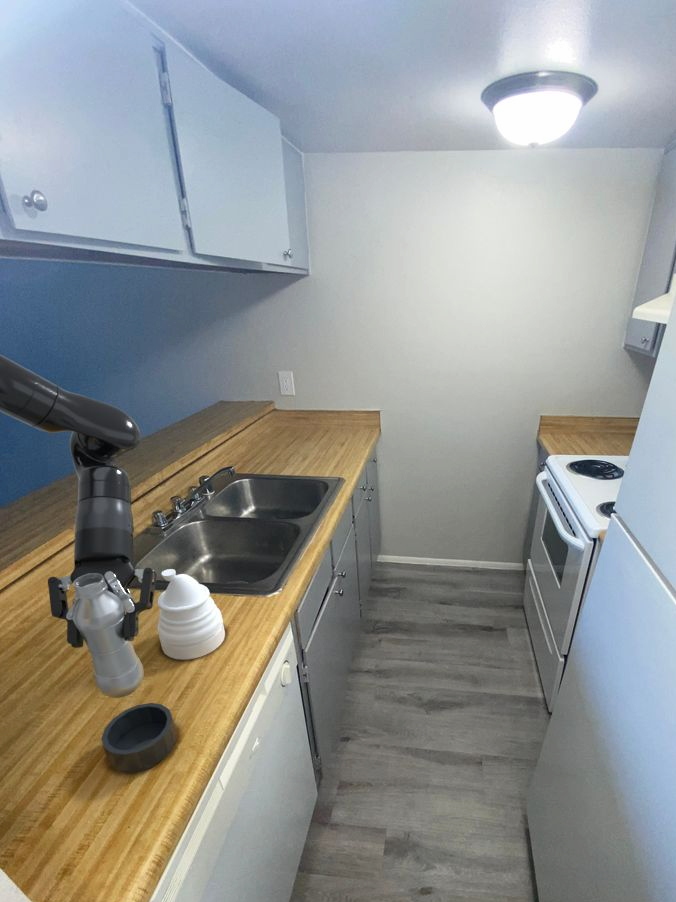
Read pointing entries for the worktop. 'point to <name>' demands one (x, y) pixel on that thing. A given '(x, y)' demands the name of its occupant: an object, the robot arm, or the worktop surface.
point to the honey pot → (188, 618)
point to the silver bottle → (106, 637)
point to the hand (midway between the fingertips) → (103, 643)
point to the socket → (139, 737)
